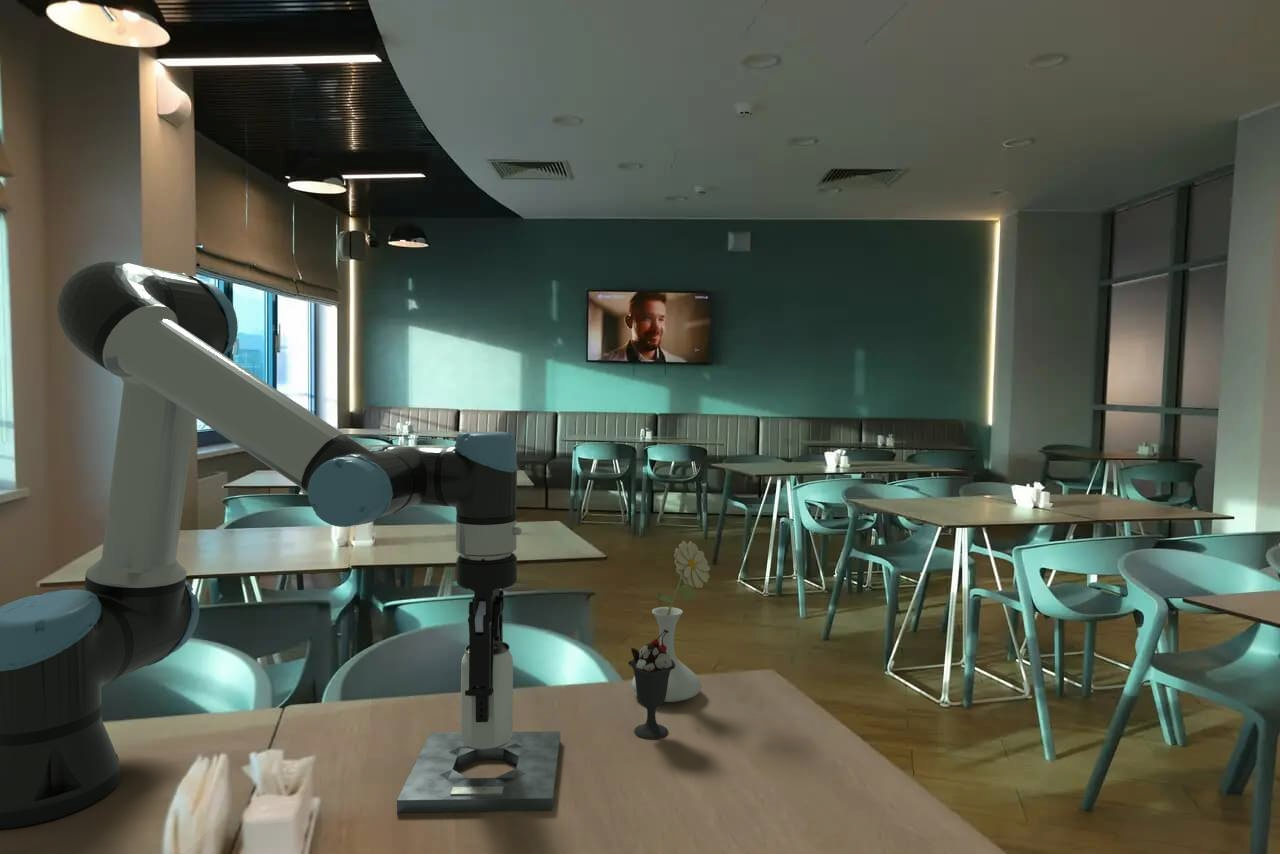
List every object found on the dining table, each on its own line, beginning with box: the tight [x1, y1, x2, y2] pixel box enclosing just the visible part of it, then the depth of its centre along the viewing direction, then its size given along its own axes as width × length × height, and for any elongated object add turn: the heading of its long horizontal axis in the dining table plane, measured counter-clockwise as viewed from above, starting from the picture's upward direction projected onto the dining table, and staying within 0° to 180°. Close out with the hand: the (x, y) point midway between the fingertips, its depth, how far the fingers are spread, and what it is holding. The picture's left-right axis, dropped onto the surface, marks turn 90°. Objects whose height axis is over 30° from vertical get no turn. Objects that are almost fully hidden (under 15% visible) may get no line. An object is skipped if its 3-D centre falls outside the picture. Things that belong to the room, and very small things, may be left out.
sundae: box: [628, 630, 675, 740], centre depth 114 cm, size 7×7×15 cm
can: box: [460, 641, 514, 750], centre depth 100 cm, size 6×6×12 cm
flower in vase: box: [630, 540, 711, 703], centre depth 127 cm, size 13×11×25 cm
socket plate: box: [396, 730, 561, 814], centre depth 101 cm, size 18×18×2 cm
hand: (487, 732), depth 101 cm, fingers closed on can, 6 cm apart
